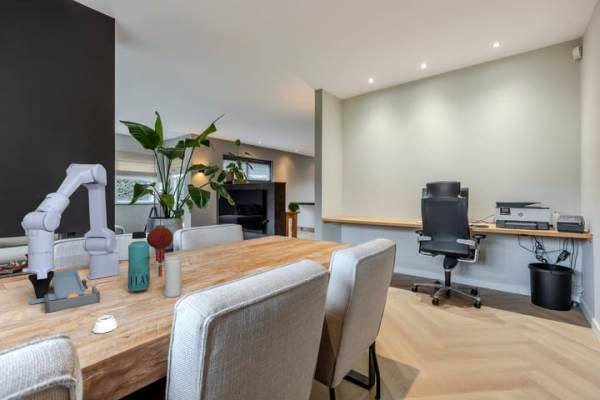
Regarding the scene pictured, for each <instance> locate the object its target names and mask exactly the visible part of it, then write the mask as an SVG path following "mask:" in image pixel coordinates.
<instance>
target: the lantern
mask: <svg viewBox="0 0 600 400" xmlns="http://www.w3.org/2000/svg"><path fill="white" fill-rule="evenodd" d="M161 208H162V200H159V225H155V227H154V228H153V229H151V230H150V231H149V232H148V234H147V235H146V242H147V243H149V244H150V246H149V247H151V248H153V249H154V250H155V262H157V263H158V264H159V265H158V266H157V267H158V272H157V273H158V275H157V276H158V277H161V278H162V276H163V272H162V271H163V265H162V263H163V262H165V259H166V258H165V255H166V254H165V252H166V248H167V247H169V246H170V245H172V243H173V240H174V234H173V232H172V231H171V230H170V229H168V228H167V227H166V225H162V221H161V220H162V219H161V217H162V216H161V215H162V213H161V212H162V209H161Z"/></svg>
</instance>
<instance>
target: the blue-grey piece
mask: <svg viewBox="0 0 600 400" xmlns="http://www.w3.org/2000/svg"><path fill="white" fill-rule="evenodd" d="M51 283H52V290H54V294H49V295H48V297H49V302H50V301H55V300H61V299H66V298H67V297H68V296H69V295H70V294H74V293H75V294H78V295H79V296H82V295H85V290H86V289H85V288H84V286H83V284H82V279H81V276H80V274H79V269H78V268H76V269H68V270H61V271H54V277H53V278H52V280H51ZM39 303H44V298H40V299H37V298H36V296H32V297H29V305H34V304H39Z"/></svg>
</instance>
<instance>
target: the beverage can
mask: <svg viewBox="0 0 600 400" xmlns="http://www.w3.org/2000/svg"><path fill="white" fill-rule="evenodd" d="M181 294H182V259H181V256H171V257H167V258H165V260H164V296H165V297H166V298H169V299H173V298H177V297H179V296H180V295H181Z"/></svg>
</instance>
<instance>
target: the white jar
mask: <svg viewBox="0 0 600 400" xmlns="http://www.w3.org/2000/svg"><path fill="white" fill-rule="evenodd" d="M118 327H119V323H118V321H117V320H116V318H115V317H114V315H112V314H106V315H102V316H99V317H98V318H97V320H96V321H95V324H94V325H93V327H92V329H91V330H92V333H93V334H105V333H110V332H113V330H116V329H117V328H118Z"/></svg>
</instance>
